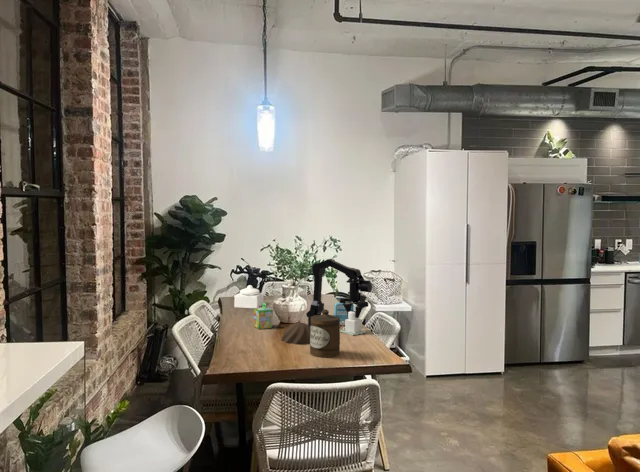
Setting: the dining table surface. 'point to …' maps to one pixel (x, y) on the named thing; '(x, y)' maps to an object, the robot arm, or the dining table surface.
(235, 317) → the dining table surface
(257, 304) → the butter dish
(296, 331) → the decorative dome
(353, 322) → the medicine bottle
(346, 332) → the tray
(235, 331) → the dining table surface
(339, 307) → the data package
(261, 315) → the chalk box
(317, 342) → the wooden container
